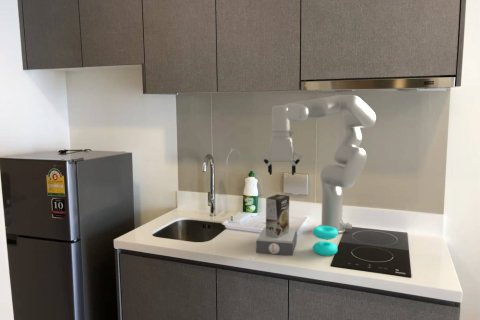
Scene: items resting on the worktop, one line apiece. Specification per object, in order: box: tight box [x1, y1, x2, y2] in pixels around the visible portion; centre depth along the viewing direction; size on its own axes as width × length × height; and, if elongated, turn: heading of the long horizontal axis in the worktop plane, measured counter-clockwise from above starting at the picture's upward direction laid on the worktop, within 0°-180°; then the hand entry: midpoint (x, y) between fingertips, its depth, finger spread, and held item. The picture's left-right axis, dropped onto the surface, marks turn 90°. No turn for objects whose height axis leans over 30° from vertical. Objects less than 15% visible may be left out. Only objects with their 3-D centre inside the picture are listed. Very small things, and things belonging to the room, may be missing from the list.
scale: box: [255, 226, 298, 257], centre depth 168 cm, size 15×16×6 cm
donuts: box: [312, 225, 339, 257], centre depth 163 cm, size 10×10×10 cm
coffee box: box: [265, 193, 290, 238], centre depth 167 cm, size 9×6×16 cm
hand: (281, 174), depth 171 cm, fingers open, 9 cm apart
